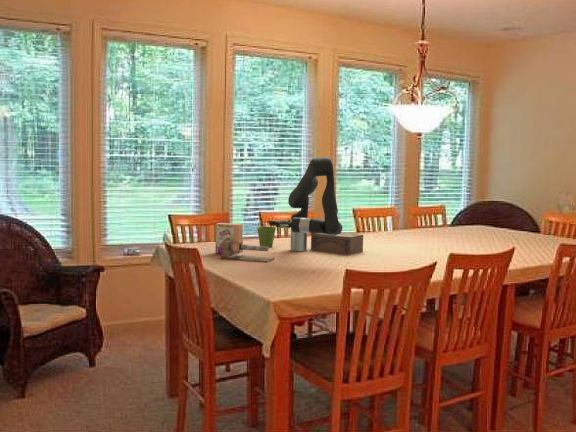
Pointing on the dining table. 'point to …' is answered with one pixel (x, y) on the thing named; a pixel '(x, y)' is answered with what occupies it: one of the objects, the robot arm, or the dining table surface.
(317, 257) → the dining table surface
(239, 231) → the tan wooden block
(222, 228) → the candy bar box
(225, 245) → the pipe stand
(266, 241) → the plant pot
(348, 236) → the tissue box cover
